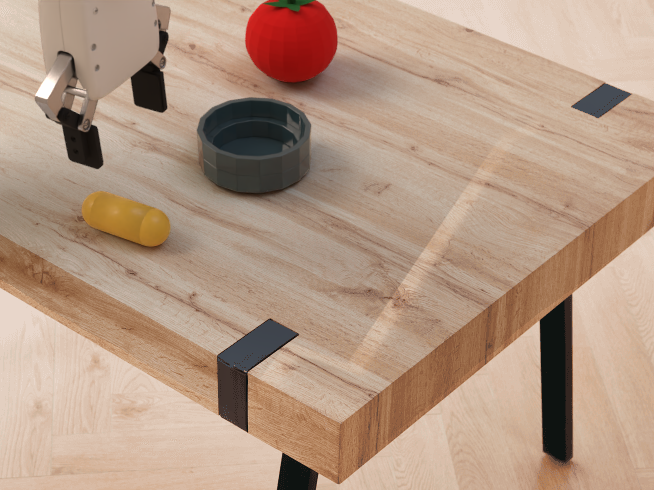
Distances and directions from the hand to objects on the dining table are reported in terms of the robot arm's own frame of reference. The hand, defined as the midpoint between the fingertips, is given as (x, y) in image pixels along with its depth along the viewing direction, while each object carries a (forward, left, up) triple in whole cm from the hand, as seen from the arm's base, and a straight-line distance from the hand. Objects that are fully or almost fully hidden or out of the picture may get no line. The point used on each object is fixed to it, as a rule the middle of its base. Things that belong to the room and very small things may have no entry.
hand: (119, 134), depth 93 cm
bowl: (+5, +15, -11) cm, 19 cm away
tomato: (0, +33, -11) cm, 35 cm away
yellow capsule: (0, 0, -11) cm, 11 cm away
